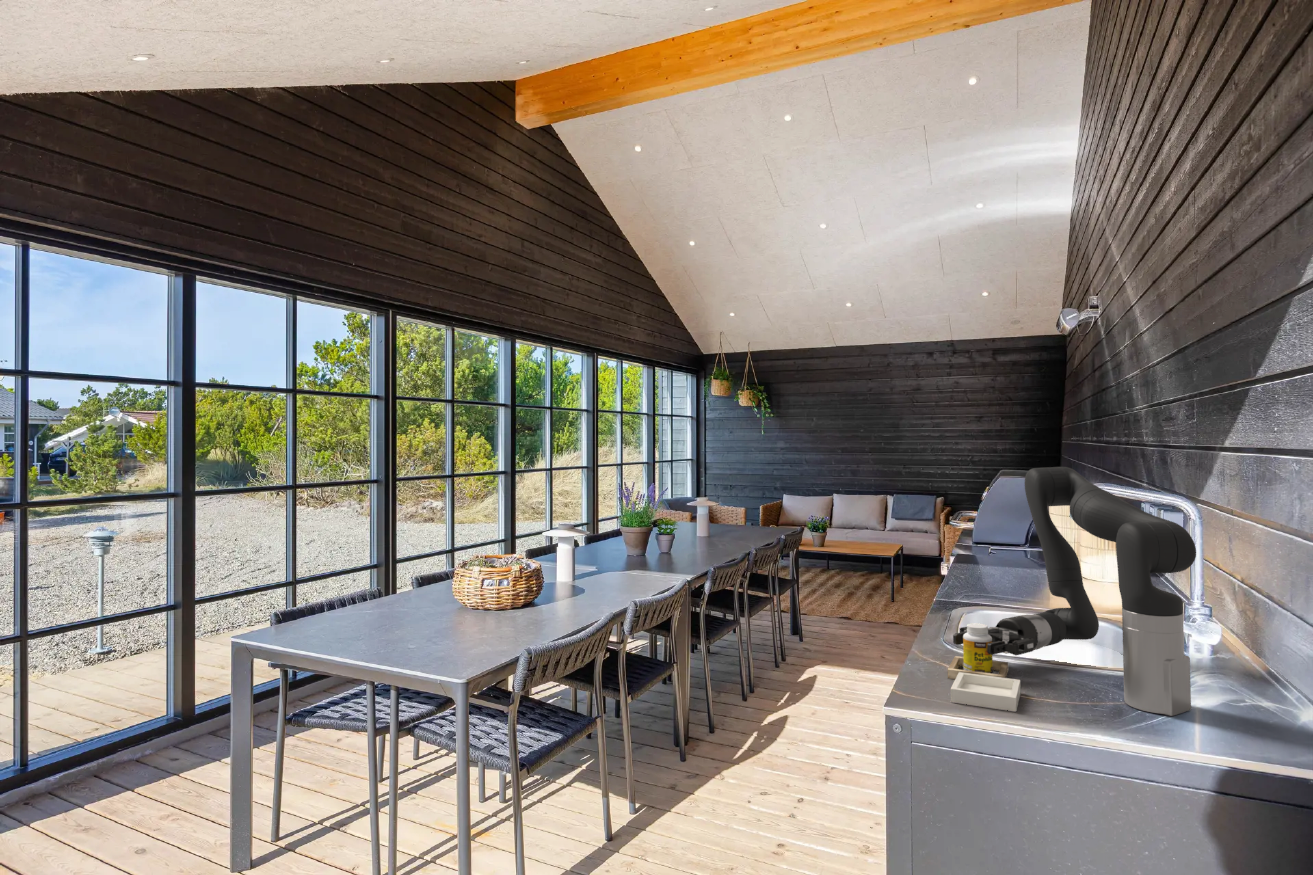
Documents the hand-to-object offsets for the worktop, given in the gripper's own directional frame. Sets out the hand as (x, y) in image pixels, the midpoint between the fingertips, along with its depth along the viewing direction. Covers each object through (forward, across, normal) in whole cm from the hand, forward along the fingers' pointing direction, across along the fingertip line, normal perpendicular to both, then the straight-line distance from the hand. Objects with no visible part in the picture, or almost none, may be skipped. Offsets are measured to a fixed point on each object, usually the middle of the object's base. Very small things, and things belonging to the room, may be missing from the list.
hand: (971, 644), depth 153 cm
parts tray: (+8, +10, +6) cm, 14 cm away
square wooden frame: (-2, 0, +6) cm, 7 cm away
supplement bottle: (-2, 0, +7) cm, 7 cm away
